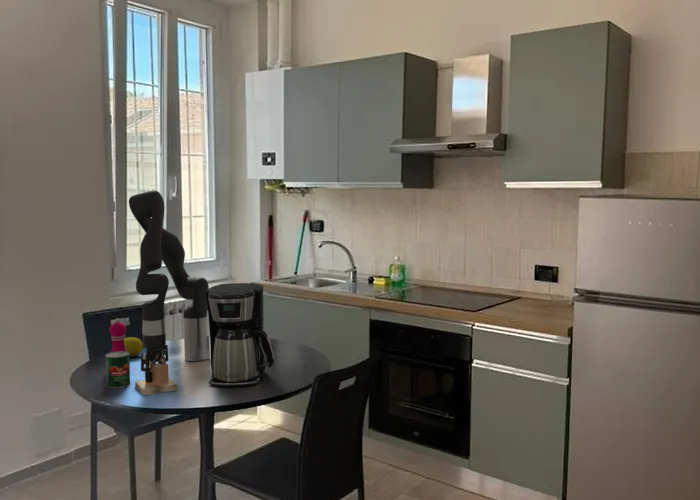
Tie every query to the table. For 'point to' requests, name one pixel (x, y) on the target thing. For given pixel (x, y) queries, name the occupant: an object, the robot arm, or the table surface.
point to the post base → (155, 387)
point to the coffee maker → (237, 334)
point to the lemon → (133, 346)
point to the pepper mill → (118, 336)
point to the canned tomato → (117, 369)
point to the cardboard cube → (159, 375)
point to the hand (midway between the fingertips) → (155, 378)
